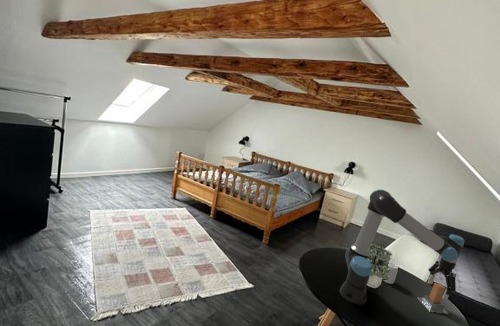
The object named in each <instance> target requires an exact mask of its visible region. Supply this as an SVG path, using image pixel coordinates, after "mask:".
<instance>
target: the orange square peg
mask: <svg viewBox="0 0 500 326" xmlns="http://www.w3.org/2000/svg"><path fill="white" fill-rule="evenodd" d="M432 285H433V286H432V289H431V291H430V294H429V299H430V300H431V301H432V302H433V303H440V301H442V300H441V299H443V298H442V297H443V295H444V292H445V289H446V287H445V286H444V285H442V283H440V282H439V283H438V282H433V284H432Z"/></svg>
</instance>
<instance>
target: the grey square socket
mask: <svg viewBox="0 0 500 326" xmlns="http://www.w3.org/2000/svg"><path fill="white" fill-rule="evenodd" d="M429 296H430V294H429V295H427V294H424V295H423V297H419V296H417V298H416V299H417V300H418V301H419V302H420V303H421V304H422V305H423V307H424V308H425V309H426V310H427V311H428V312H429V313H434V312H436V313H435V314H441V313H444V314H443V315H449V312H448V311H447V310H446V309H445V304H444V303H443V301H442V300H440V303H433V302H432V301H431V300H430V299H429Z"/></svg>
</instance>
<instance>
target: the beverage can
mask: <svg viewBox="0 0 500 326" xmlns="http://www.w3.org/2000/svg"><path fill="white" fill-rule="evenodd" d="M388 267H389V269H390V271H389V274H390V278H389V279H388V280H382V281H383V282H385V283H387V284H391V285H392V284H395V280H396V277H397V275H398V272H399V271H398V270H399V267H398V266H397V265H396V264H395V263H393V262H389V264H388Z"/></svg>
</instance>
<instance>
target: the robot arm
mask: <svg viewBox="0 0 500 326" xmlns="http://www.w3.org/2000/svg"><path fill="white" fill-rule="evenodd" d="M367 210H368V213H367V214H366V216H365V219H364V221H363V224H362V226H361V229H360V231H359V233H358V235H357V238H356V241H355V242H354V243H353V244H351V245H350V247H349V248H348V249H347V250H346V251H345V255H344V256H345V263H346V266H347V271H348V273H347V276H346V279H345V281H344V282H342V283H343V284H342V285H341V286H340V289H339V293H340V295H341V297H342V298H343V299H344V300H346V301H348V302H349V303H351V304H354V305H364V304H365V303H366V301H367V287H368V283H369V280H370V278H371V277H370V276H371V273H372V270H373V265H372V263H371V262H370V260H368V258H369V256H370V252H369V250H370V247H371V245H372V242H373V241H374V239H375V236H376V234H377V231H378V230H379V227H380V225H381V223H382V221H383V219H384V218H387V219H388V220H390V221H392V222H393V223H395V224H398V225H400V226H401V227H402V228H404V229H405V230H406V231H407V232H409V233H411V234H412V235H414V237H416V238H417V239H419V240H420V241H421V242H422V243H424V244H425V245H426V246H428V247H429V248H430V249H432V250H433V251H434V252H435V253H437V254H439V255H440V256H441V258H440V260H436V261H435V263H434V264H433V265H432V266H430V267H429V268H428V271H429V275H428V280H427V284H428V285H433V284H434V280H435V278H436V274H438V273H440V274H441V273H442V275H443V276H444V278H445V282H446V283H445V284H446V287H445V290H444V292H443V295H442V298H441V299H444V300H448V299H449V296H450V295H451V293H452V292H456V289H457V288H456V286H457V285H456V278H457V273H454V272H453V270H454V269H455V268H456V265H457V262H458V259H459V257H460V255H461V252H462V250H463V248H464V245H465V239H464V238H463V237H462V236H460V235H456V234H453V233H451V234H450V235H449V236H444V235H440V234H436V233H435V232H433V231H432V230H431V229H430V228H428V227H426V226H425V225H424V224H423V223H421V222H420V221H419V220H417V219H416V218H415V217H413V216H412V215H410V214H409V213H408V212H407V209H406V208H404V207H403V206H401V204H399V202H398V201H397V200H396V199H395V197H393V196H392V194H391V193H390V192H388V191H387V190H385V189H381V188H380V189H375V190H373V191H372V192H371V194H370V196H369V203H368V205H367Z"/></svg>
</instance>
